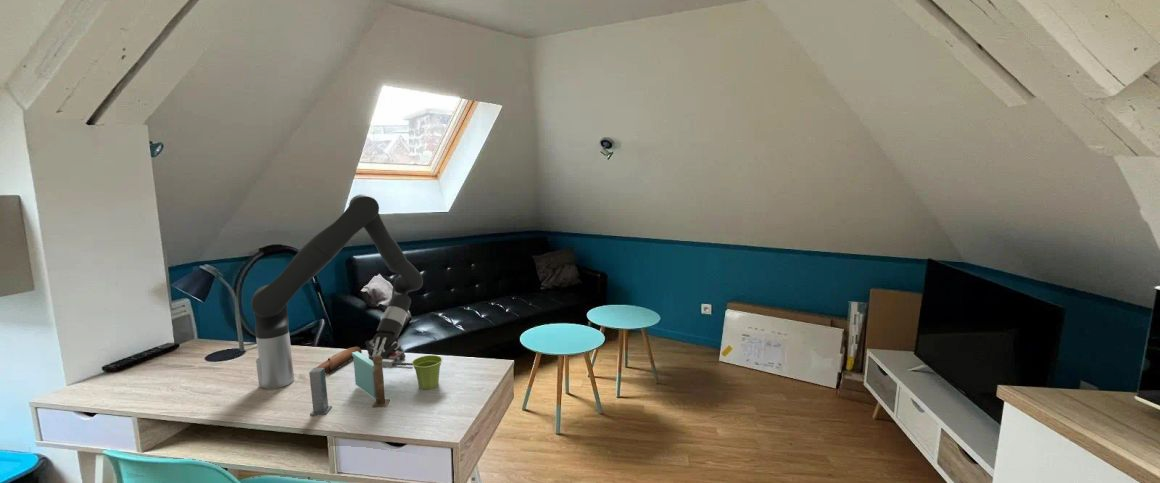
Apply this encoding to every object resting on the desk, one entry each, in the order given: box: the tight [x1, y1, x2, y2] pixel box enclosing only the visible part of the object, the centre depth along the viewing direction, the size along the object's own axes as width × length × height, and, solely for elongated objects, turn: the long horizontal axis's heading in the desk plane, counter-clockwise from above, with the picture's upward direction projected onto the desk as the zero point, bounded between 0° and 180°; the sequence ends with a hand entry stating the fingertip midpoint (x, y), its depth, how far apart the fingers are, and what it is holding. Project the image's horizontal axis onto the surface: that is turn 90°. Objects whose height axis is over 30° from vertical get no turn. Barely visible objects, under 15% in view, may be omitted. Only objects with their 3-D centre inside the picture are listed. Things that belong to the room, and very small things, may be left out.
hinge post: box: [372, 355, 391, 409], centre depth 144 cm, size 4×4×16 cm
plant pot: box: [411, 354, 443, 390], centre depth 157 cm, size 9×9×9 cm
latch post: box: [308, 367, 333, 417], centre depth 140 cm, size 4×4×13 cm
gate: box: [352, 351, 377, 401], centre depth 151 cm, size 16×2×11 cm, turn 46°
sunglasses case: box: [315, 346, 363, 375], centre depth 176 cm, size 18×7×7 cm
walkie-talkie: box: [368, 350, 413, 368], centre depth 177 cm, size 9×4×20 cm
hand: (372, 369), depth 158 cm, fingers closed
